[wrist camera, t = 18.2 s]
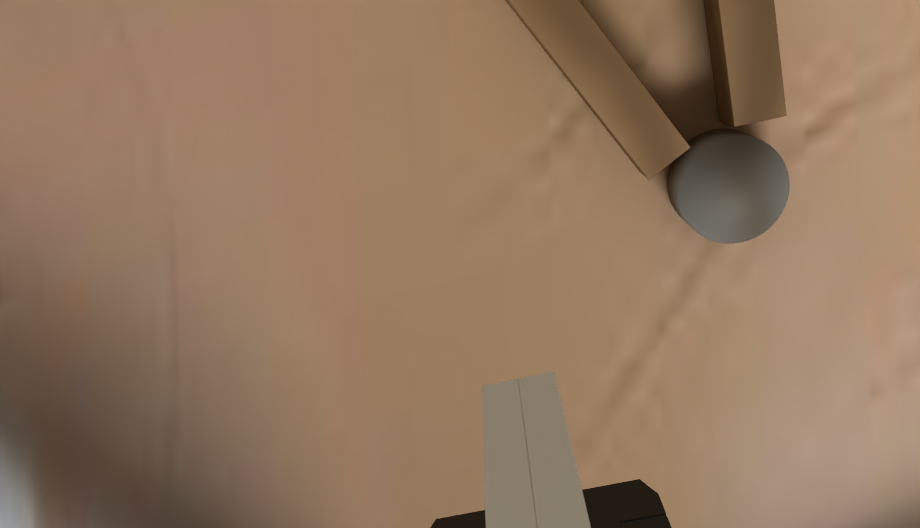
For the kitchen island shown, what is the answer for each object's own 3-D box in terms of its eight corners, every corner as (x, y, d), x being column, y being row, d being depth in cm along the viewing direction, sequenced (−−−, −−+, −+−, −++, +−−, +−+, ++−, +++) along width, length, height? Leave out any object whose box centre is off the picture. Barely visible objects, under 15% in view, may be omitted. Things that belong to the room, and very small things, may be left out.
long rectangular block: (638, 170, 42) (648, 179, 40) (460, -57, 39) (460, -62, 37) (677, 140, 42) (690, 147, 39) (500, -93, 39) (502, -100, 36)
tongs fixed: (675, 240, 43) (687, 253, 41) (612, -171, 38) (621, -184, 35) (780, 218, 43) (799, 230, 40) (732, -200, 37) (750, -216, 35)
